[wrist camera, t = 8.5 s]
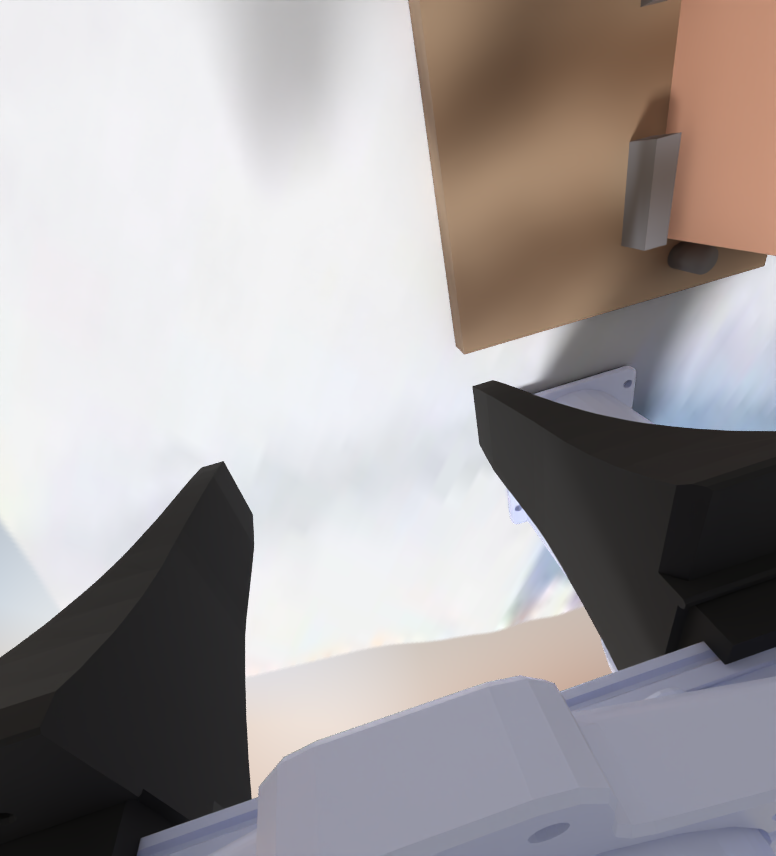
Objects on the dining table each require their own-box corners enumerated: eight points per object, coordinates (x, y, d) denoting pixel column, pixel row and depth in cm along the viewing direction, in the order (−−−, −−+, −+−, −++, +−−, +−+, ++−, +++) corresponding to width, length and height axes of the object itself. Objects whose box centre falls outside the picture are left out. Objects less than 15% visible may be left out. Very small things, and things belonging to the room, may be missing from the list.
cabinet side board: (742, 261, 22) (794, 271, 20) (456, 345, 21) (476, 366, 19) (888, -361, 12) (1022, -481, 10) (373, -257, 12) (394, -363, 9)
